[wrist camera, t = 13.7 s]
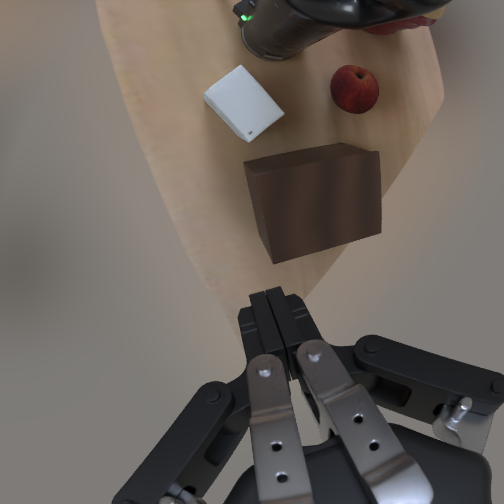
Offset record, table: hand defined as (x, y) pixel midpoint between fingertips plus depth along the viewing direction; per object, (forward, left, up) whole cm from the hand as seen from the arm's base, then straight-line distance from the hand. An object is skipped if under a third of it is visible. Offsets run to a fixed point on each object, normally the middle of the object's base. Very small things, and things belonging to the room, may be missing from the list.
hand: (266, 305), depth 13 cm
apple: (+2, +24, -32) cm, 40 cm away
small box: (-6, +8, -32) cm, 34 cm away
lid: (+11, +8, -23) cm, 27 cm away
